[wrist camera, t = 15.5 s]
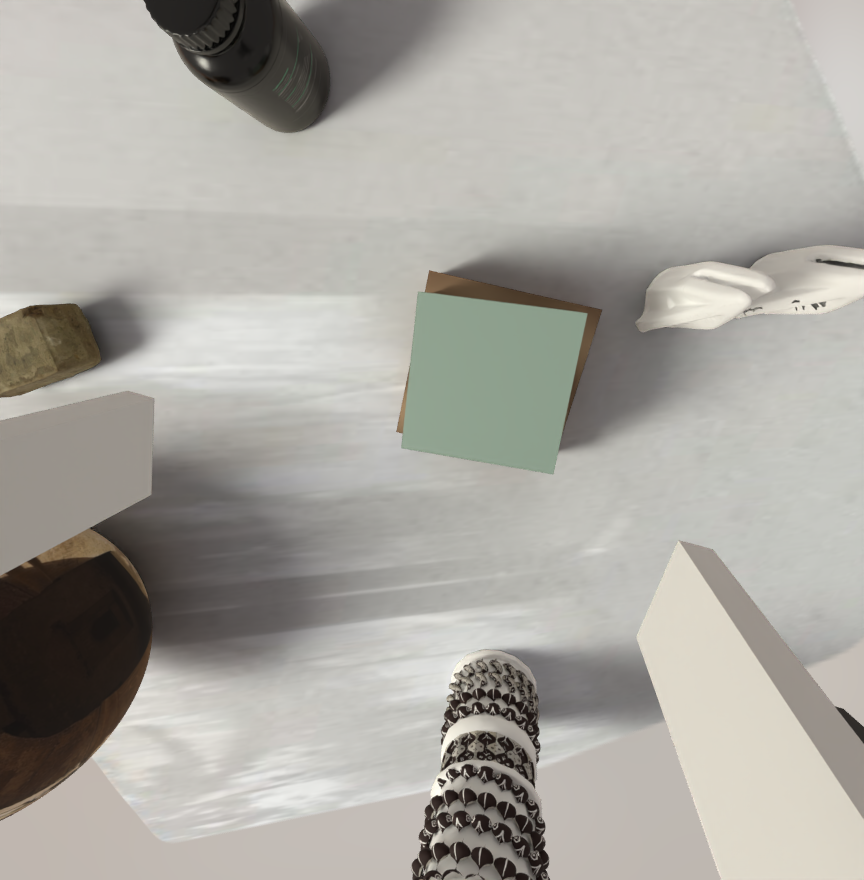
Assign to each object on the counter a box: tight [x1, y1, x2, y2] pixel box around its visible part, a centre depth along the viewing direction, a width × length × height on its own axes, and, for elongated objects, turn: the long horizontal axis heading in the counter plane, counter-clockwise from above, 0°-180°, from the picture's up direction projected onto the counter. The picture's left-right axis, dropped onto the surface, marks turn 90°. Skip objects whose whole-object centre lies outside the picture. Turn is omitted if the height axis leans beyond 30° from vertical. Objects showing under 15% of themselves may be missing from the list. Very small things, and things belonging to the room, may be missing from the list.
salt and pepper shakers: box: [635, 245, 864, 332], centre depth 29 cm, size 12×4×11 cm, turn 98°
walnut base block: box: [396, 270, 602, 433], centre depth 37 cm, size 12×12×5 cm
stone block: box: [0, 304, 101, 398], centre depth 42 cm, size 6×12×5 cm, turn 108°
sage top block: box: [401, 292, 588, 474], centre depth 32 cm, size 10×10×5 cm
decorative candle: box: [412, 650, 550, 880], centre depth 35 cm, size 9×9×25 cm
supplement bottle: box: [144, 0, 330, 133], centre depth 30 cm, size 7×7×12 cm
